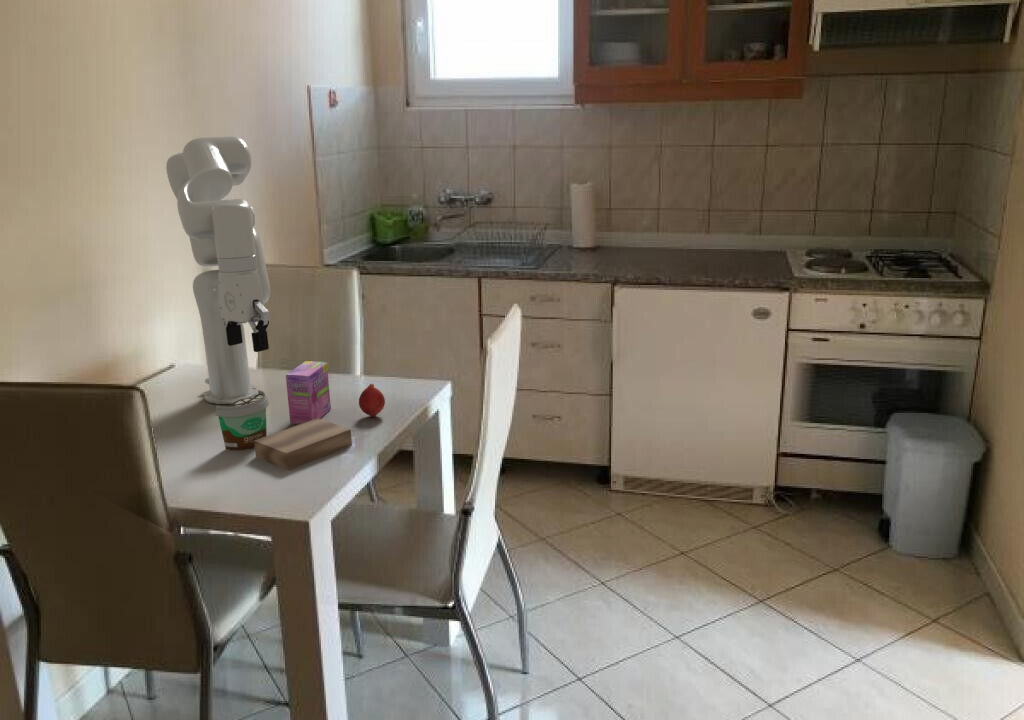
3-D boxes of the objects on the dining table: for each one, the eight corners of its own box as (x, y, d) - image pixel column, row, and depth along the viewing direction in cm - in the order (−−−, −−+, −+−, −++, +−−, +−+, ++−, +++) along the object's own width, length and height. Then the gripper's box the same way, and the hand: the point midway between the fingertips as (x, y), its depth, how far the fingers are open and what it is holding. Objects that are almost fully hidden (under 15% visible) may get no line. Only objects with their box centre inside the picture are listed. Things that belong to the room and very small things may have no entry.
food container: (240, 457, 173) (234, 411, 170) (220, 451, 176) (214, 406, 173) (285, 437, 183) (280, 393, 180) (265, 432, 186) (260, 389, 183)
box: (313, 425, 189) (308, 375, 186) (289, 424, 191) (284, 374, 187) (332, 409, 199) (327, 361, 196) (309, 408, 200) (304, 360, 197)
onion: (363, 423, 190) (360, 389, 188) (357, 414, 195) (354, 382, 193) (388, 418, 192) (386, 385, 190) (382, 411, 197) (379, 378, 195)
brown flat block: (256, 458, 173) (254, 440, 172) (319, 435, 185) (317, 418, 184) (288, 472, 166) (286, 453, 165) (352, 447, 178) (350, 429, 177)
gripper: (198, 264, 173) (209, 345, 178) (244, 270, 162) (255, 357, 166) (231, 259, 179) (241, 338, 183) (278, 265, 167) (287, 349, 172)
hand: (248, 347), depth 175 cm, fingers open, 9 cm apart
